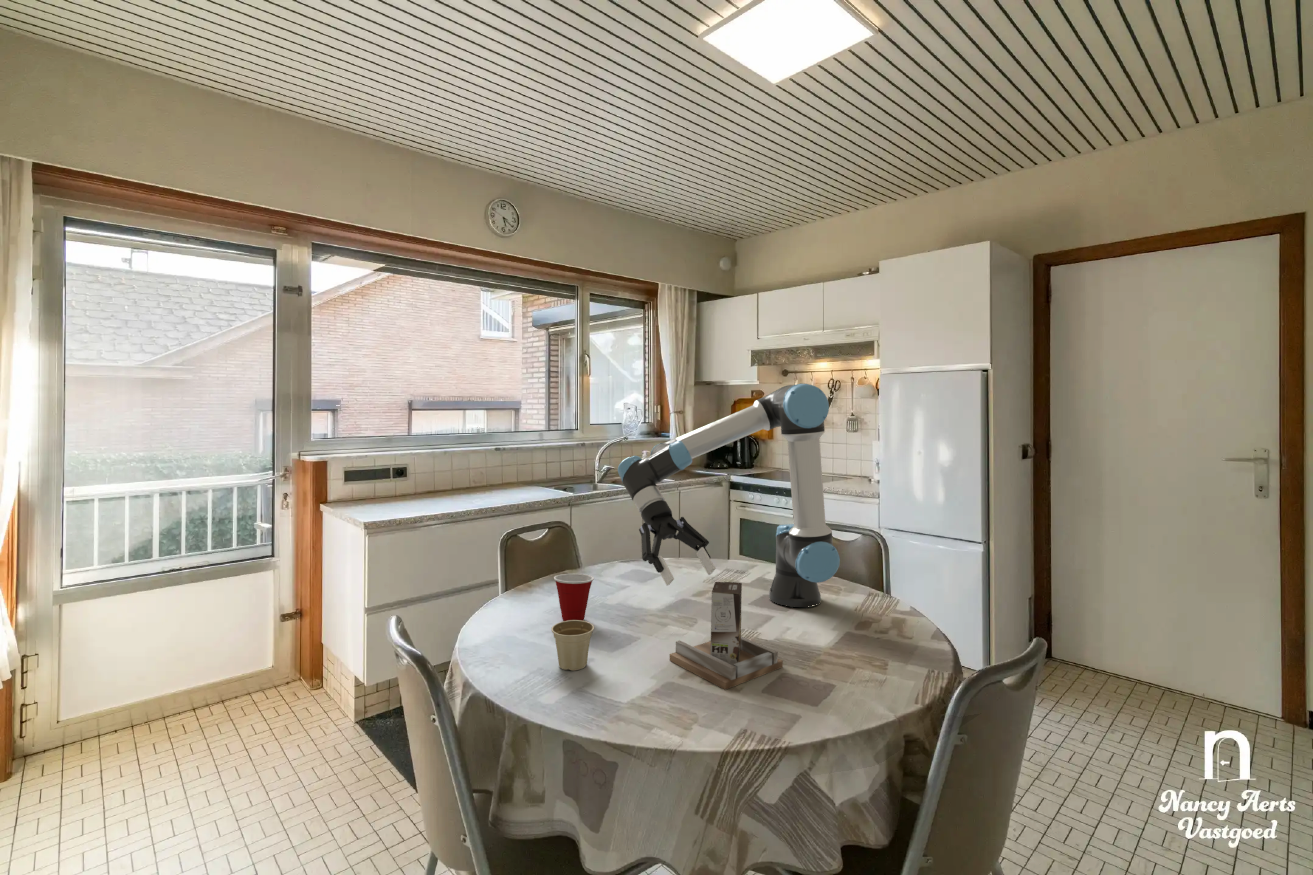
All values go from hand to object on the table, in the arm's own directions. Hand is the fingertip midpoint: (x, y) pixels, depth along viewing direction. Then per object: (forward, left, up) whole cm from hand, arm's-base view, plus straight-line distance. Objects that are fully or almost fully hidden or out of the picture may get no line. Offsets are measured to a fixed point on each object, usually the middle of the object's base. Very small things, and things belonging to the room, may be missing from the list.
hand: (692, 577), depth 148 cm
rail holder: (+1, +13, -17) cm, 21 cm away
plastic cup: (+14, -32, -17) cm, 39 cm away
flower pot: (+29, -7, -17) cm, 34 cm away
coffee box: (+1, +13, -15) cm, 20 cm away
